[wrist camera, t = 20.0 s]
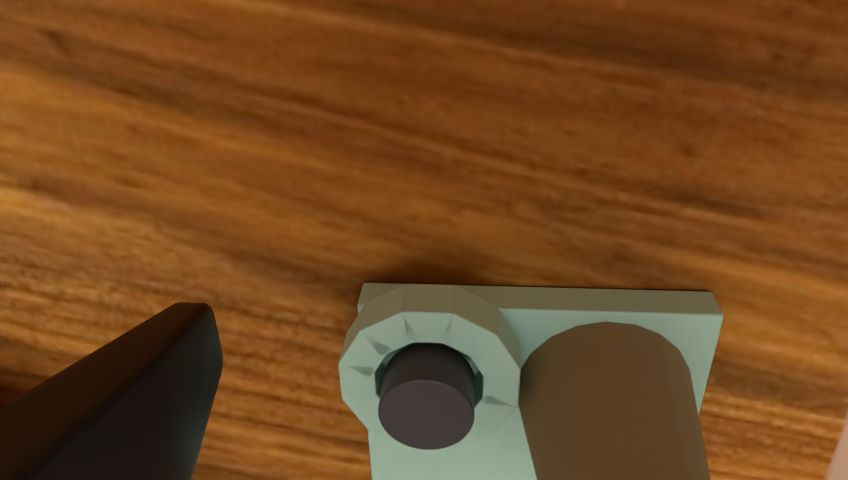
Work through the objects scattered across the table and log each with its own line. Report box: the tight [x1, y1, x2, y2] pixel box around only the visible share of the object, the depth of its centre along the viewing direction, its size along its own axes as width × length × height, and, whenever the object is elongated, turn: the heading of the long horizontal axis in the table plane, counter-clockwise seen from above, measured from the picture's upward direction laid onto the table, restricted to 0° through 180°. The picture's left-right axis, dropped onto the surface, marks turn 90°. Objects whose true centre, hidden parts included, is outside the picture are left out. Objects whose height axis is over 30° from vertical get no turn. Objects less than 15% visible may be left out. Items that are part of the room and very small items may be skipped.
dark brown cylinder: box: [378, 344, 475, 450], centre depth 22 cm, size 3×3×2 cm
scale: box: [338, 283, 724, 480], centre depth 25 cm, size 12×13×3 cm
